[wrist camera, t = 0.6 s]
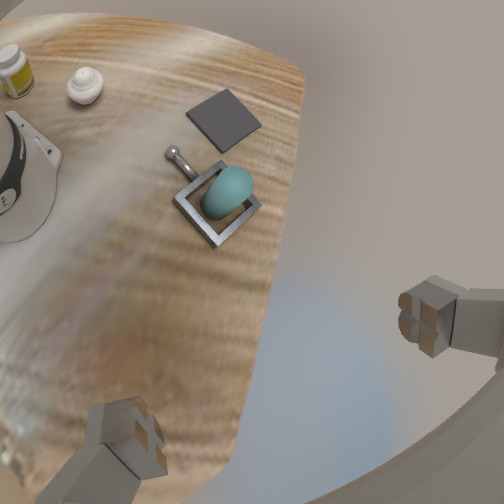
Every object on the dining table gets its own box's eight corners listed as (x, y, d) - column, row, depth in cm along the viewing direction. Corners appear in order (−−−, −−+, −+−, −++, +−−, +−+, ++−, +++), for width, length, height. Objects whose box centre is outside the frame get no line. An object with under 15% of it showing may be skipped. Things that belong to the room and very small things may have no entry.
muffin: (94, 77, 39) (91, 50, 32) (111, 98, 40) (110, 71, 33) (63, 97, 37) (56, 71, 30) (80, 119, 38) (73, 94, 31)
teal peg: (194, 203, 43) (209, 180, 34) (215, 185, 44) (236, 159, 35) (214, 226, 44) (235, 209, 34) (235, 207, 45) (260, 186, 36)
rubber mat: (185, 114, 44) (186, 112, 43) (225, 91, 47) (227, 88, 46) (222, 154, 45) (223, 152, 45) (260, 126, 48) (261, 124, 48)
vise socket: (144, 169, 41) (144, 162, 38) (189, 135, 44) (192, 128, 42) (213, 248, 43) (218, 246, 41) (255, 209, 46) (262, 205, 44)
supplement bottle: (38, 73, 35) (27, 38, 26) (29, 97, 34) (14, 62, 25) (14, 77, 33) (0, 43, 24) (4, 100, 33) (-13, 68, 23)
